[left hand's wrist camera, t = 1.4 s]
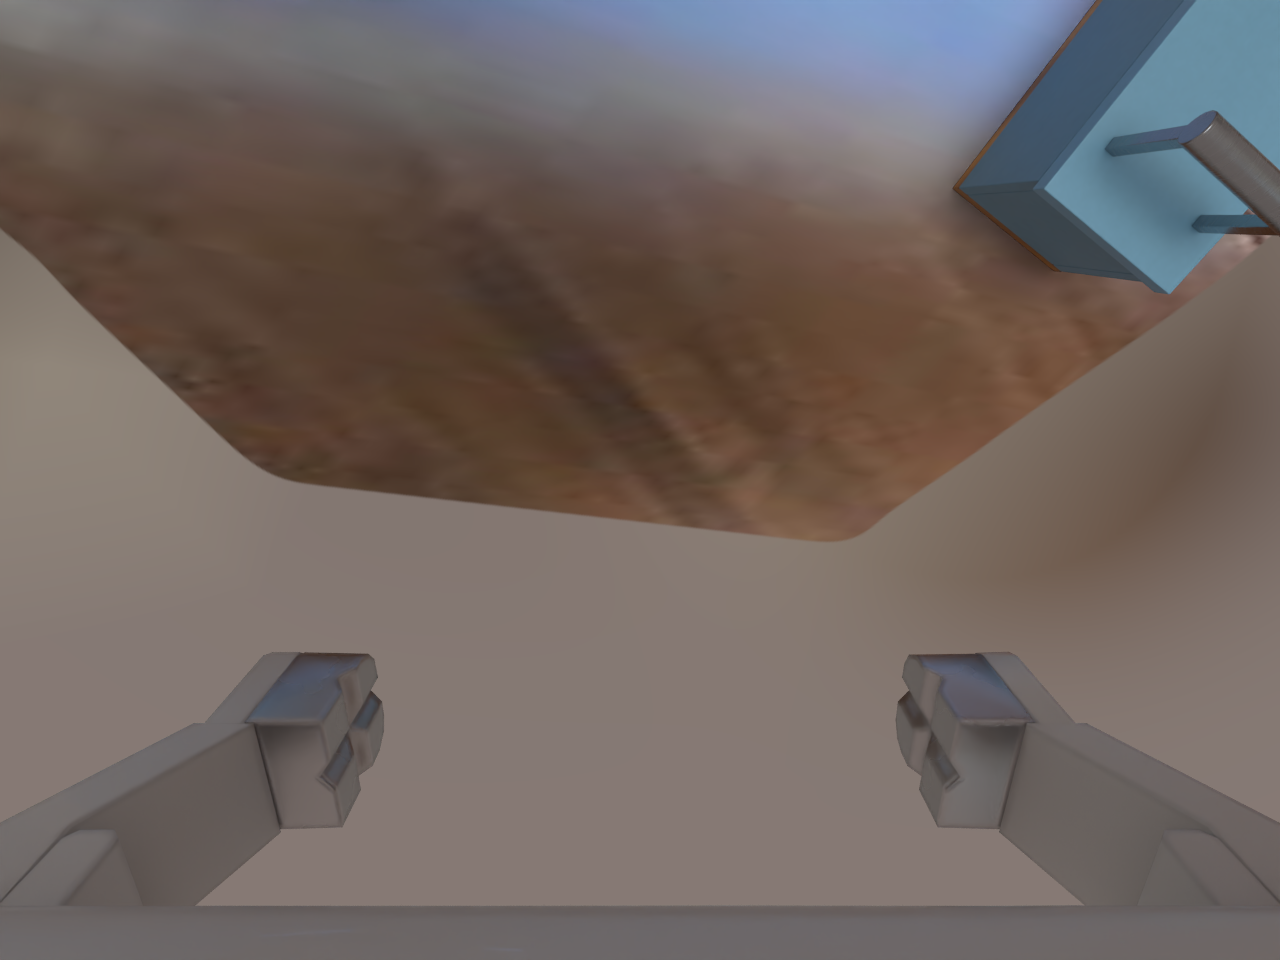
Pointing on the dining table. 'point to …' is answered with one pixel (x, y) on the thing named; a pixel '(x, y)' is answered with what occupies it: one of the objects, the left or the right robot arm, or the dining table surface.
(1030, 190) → the chest
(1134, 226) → the lid
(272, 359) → the dining table surface
